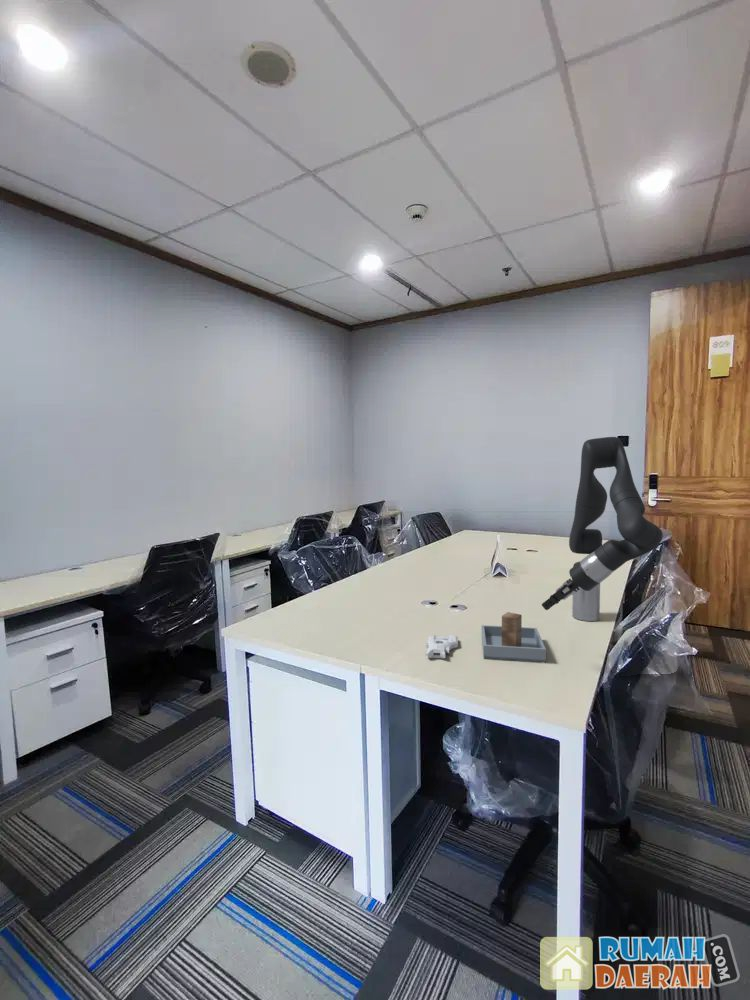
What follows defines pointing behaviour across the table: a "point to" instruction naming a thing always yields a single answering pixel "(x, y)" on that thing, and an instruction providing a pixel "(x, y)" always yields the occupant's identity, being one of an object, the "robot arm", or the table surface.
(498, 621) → the table surface
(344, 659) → the table surface
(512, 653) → the box
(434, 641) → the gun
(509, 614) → the handle block
